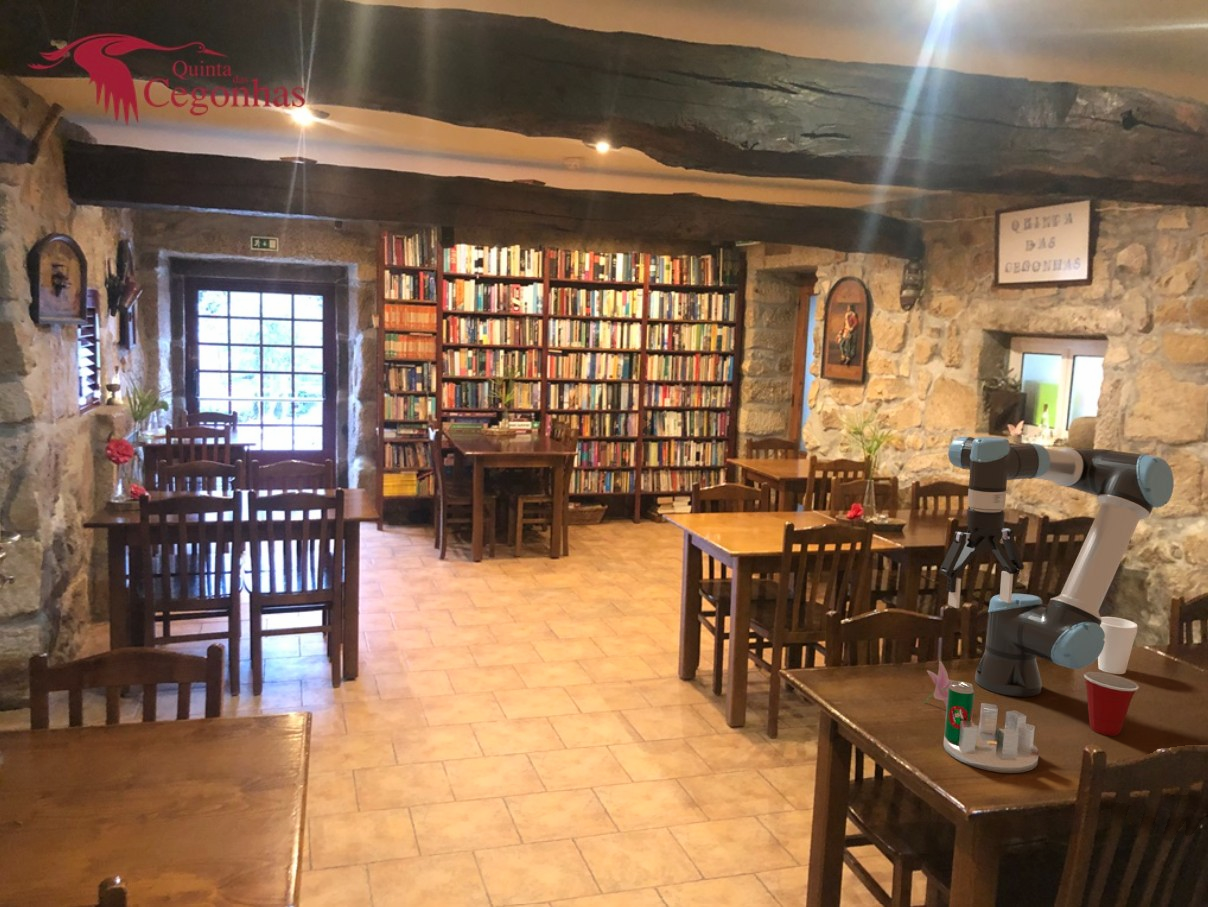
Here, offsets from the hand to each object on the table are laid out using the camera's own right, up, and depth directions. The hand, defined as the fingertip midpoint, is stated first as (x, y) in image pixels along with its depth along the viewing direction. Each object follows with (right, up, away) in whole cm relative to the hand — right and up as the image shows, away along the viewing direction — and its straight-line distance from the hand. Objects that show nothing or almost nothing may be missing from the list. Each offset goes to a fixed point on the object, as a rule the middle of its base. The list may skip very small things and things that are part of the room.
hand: (979, 603), depth 200 cm
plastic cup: (+29, -29, +2) cm, 41 cm away
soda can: (-9, -27, -11) cm, 30 cm away
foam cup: (+52, -25, +42) cm, 71 cm away
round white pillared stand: (-3, -29, -11) cm, 31 cm away
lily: (-4, -26, +12) cm, 29 cm away
